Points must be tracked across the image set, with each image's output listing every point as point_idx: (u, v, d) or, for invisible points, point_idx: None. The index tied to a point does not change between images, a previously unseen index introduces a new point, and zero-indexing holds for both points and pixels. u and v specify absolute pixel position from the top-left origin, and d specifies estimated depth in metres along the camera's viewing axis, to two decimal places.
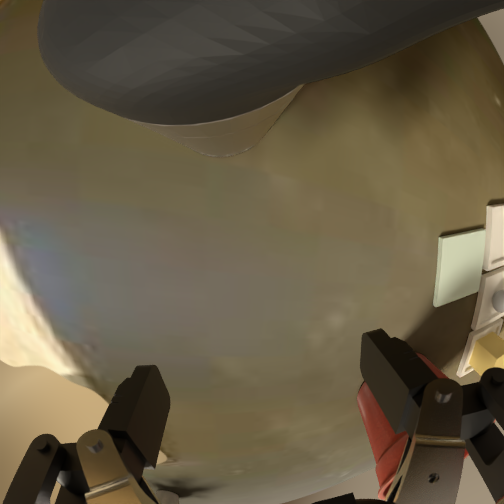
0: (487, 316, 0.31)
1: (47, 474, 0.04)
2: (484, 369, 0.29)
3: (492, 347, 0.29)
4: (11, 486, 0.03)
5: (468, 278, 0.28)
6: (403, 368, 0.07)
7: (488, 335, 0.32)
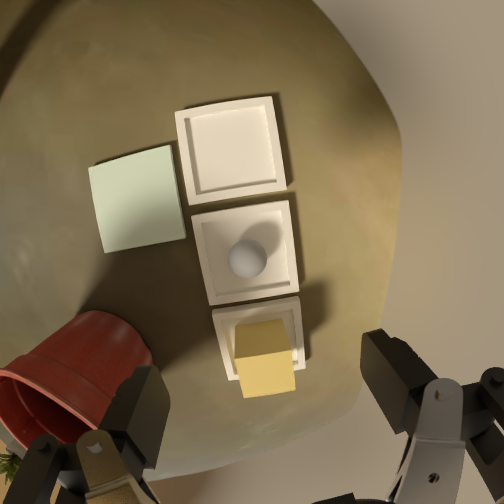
0: (243, 287, 0.28)
1: (47, 474, 0.04)
2: None
3: (249, 340, 0.25)
4: (11, 486, 0.03)
5: (149, 216, 0.25)
6: (403, 368, 0.07)
7: (265, 322, 0.28)
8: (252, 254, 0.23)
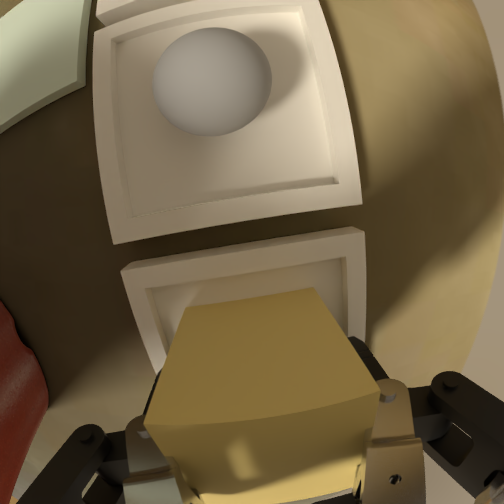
0: (204, 190, 0.09)
1: (85, 467, 0.04)
2: None
3: (214, 351, 0.07)
4: (42, 473, 0.04)
5: (29, 62, 0.07)
6: None
7: (270, 298, 0.10)
8: (222, 35, 0.05)
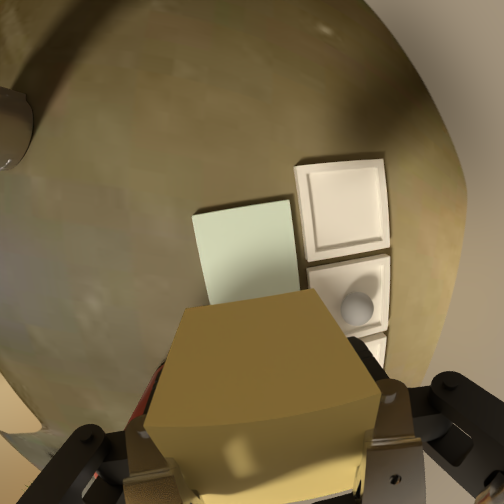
0: (343, 329, 0.29)
1: (85, 467, 0.04)
2: None
3: (214, 352, 0.07)
4: (42, 473, 0.04)
5: (265, 270, 0.27)
6: None
7: (270, 299, 0.10)
8: (367, 307, 0.25)
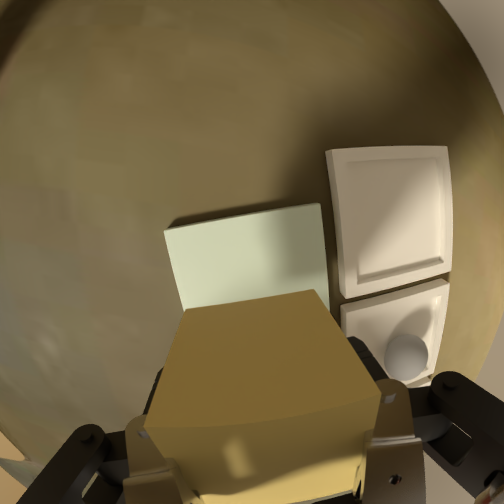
0: None
1: (85, 467, 0.04)
2: None
3: (214, 353, 0.07)
4: (42, 473, 0.04)
5: None
6: None
7: (270, 299, 0.10)
8: (422, 359, 0.15)
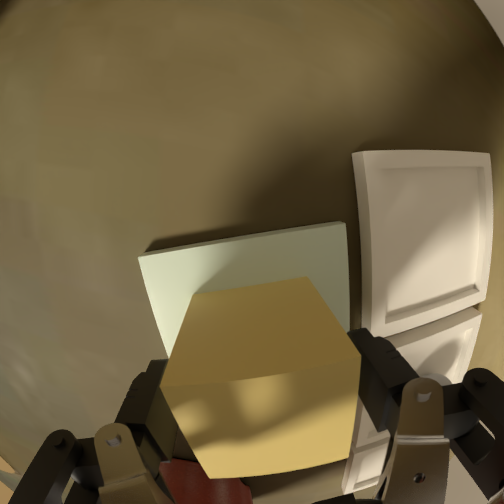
0: None
1: (60, 471, 0.04)
2: None
3: (220, 327, 0.09)
4: (22, 480, 0.03)
5: None
6: (384, 367, 0.07)
7: (268, 285, 0.11)
8: None
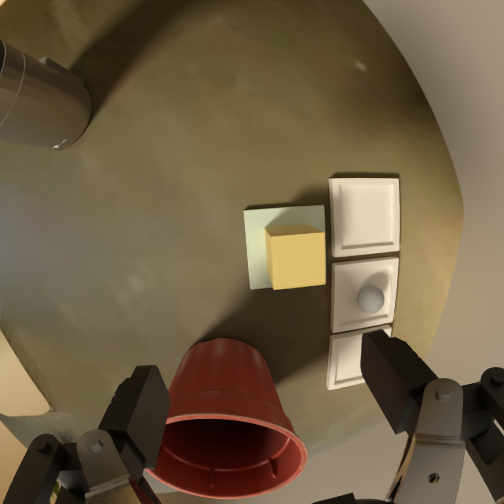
0: (357, 318, 0.34)
1: (47, 474, 0.04)
2: (270, 267, 0.27)
3: (281, 231, 0.27)
4: (11, 486, 0.03)
5: None
6: (403, 368, 0.07)
7: (294, 225, 0.30)
8: (380, 298, 0.30)
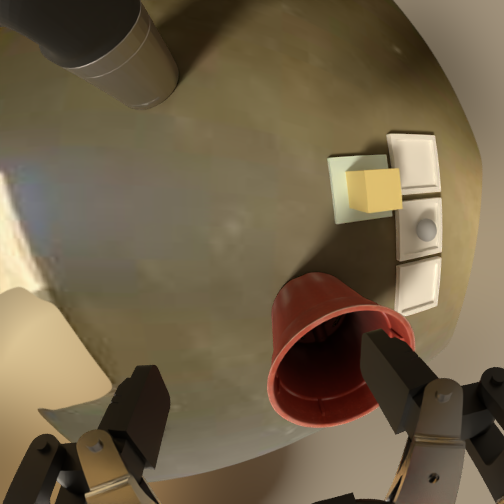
0: (416, 249, 0.38)
1: (47, 474, 0.04)
2: (361, 198, 0.31)
3: None
4: (11, 486, 0.03)
5: None
6: (403, 368, 0.07)
7: None
8: (434, 226, 0.34)
